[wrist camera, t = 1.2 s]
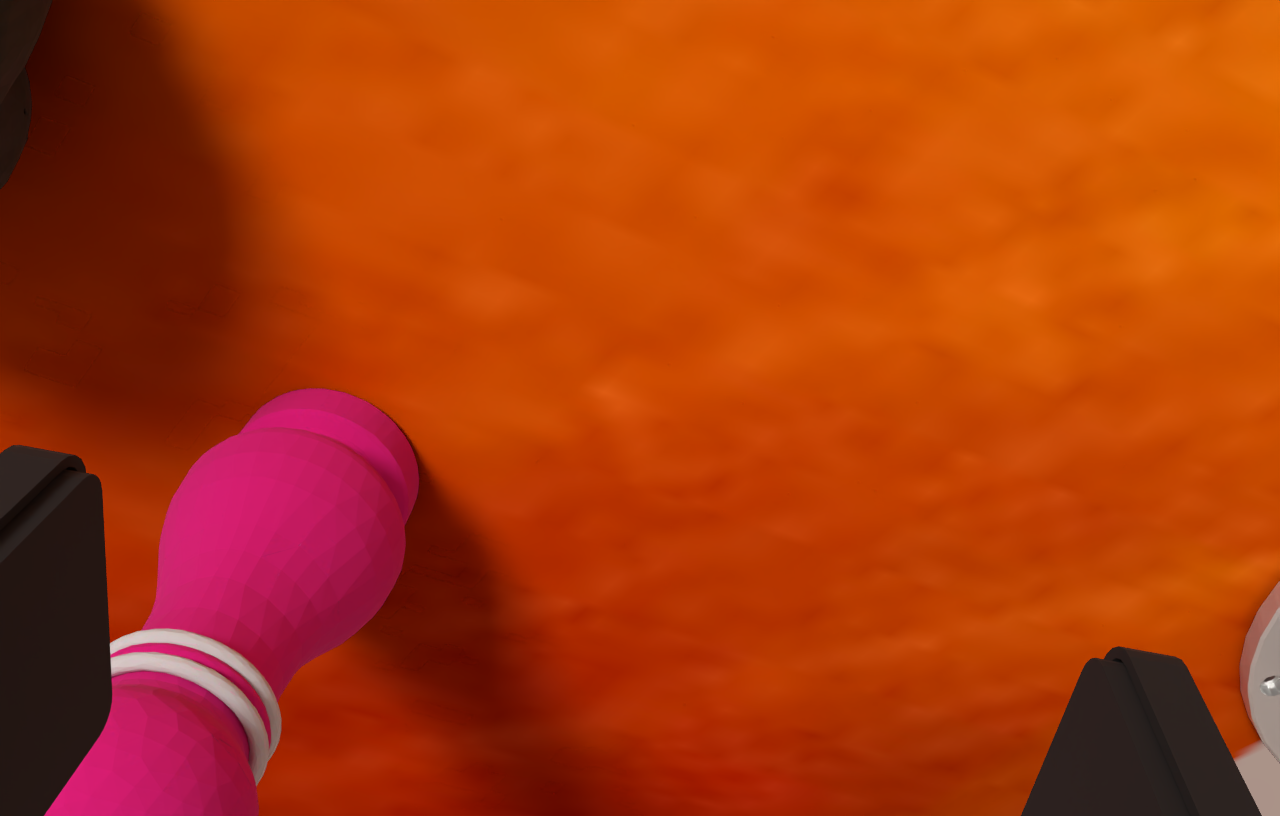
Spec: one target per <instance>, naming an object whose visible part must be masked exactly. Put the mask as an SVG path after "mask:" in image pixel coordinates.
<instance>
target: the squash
mask: <svg viewBox="0 0 1280 816" xmlns="http://www.w3.org/2000/svg"><path fill="white" fill-rule="evenodd" d="M51 3H52V0H0V189H1V188H2V187H3V186H4V185H5V184H6V183H7V181H8V179H9V177H10V175H11V173H12V171H13V169H14V168H15V166H16V164H17V162H18V160H19V158H20V155H21V153H22V151H23V148H24V146H25V143H26V141H27V139H28V130H29V125H30V121H31V111H32V98H31V90H30V83H29V79H28V76H27V72H26V69H25V65H26V63H27V61H28V59H29V57H30V55H31V53H32V51H33V49H34V46H35V44H36V42H37V40H38V38H39V36H40V33H41V30H42V28H43V25H44V22H45V19H46V16H47V14H48V11H49V8H50V6H51Z"/></svg>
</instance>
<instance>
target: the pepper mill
mask: <svg viewBox="0 0 1280 816" xmlns="http://www.w3.org/2000/svg"><path fill="white" fill-rule="evenodd" d="M418 489H419V474H418V466H417V462H416V459H415V455H414V453H413V450H412V448H411V446H410V444H409V442H408V441H407V439H406V437H405V436H404V434H403V433H402V432H401V431H400V429H399V428H398V427H397V425H396V424H395V423H394V422H393V421H392V420H391V419H390V418H389V417H388V416H386V415H385V414H384V413H383V412H381V411H380V410H379V409H377V408H376V407H374V406H373V405H371V404H370V403H369V402H367V401H364V400H362V399H360V398H357V397H355V396H352V395H350V394H347V393H344V392H339V391H334V390H328V389H303V390H297V391H292V392H288V393H286V394H283V395H280V396H278V397H276V398H274V399H273V400H271V401H270V402H268V403H267V404H265V405H264V406H262V407H261V408H260V409H259V410H258V411H257V412H256V413H255V414H254V415H253V416H252V417H251V419H250V420H249V421H248V423H247V424H246V425H245V426H244V428H243V429H242V430H241V432H240V433H239V434H238V435H235V436H232V437H229V438H228V439H226V440H224V441H223V442H221V443H219V444H218V445H216V446H214V447H213V448H211V449H210V450H208V451H207V452H206V453H205V454H203V455H202V456H201V457H200V458H199V459H198V461H197V462H196V463H195V464H194V465H193V466H192V467H191V469H190V470H189V472H188V474H187V475H186V477H185V479H184V480H183V482H182V483H181V485H180V487H179V488H178V490H177V491H176V493H175V495H174V496H173V498H172V501H171V503H170V506H169V508H168V511H167V515H166V518H165V522H164V526H163V529H162V533H161V539H160V545H159V561H158V584H157V594H156V600H155V604H154V607H153V610H152V613H151V615H150V616H149V618H148V620H147V622H146V623H145V625H144V627H143V629H142V630H141V631H137V632H134V633H131V634H128V635H125V636H122V637H121V638H119V639H117V640H115V641H113V642H112V643H110V656H111V675H112V704H111V710H110V713H109V717H108V720H107V722H106V725H105V727H104V729H103V731H102V733H101V735H100V736H99V738H98V739H97V741H96V742H95V744H94V745H93V746H92V748H91V749H90V751H89V752H88V754H87V755H86V756H85V758H84V759H83V761H82V762H81V764H80V765H79V766H78V768H77V769H76V771H75V772H74V774H73V775H72V777H71V778H70V779H69V781H68V782H67V784H66V785H65V787H64V788H63V789H62V791H61V792H60V794H59V795H58V797H57V798H56V799H55V801H54V802H53V804H52V805H51V807H50V808H49V809H48V811H47V812H46V814H45V815H44V816H258V811H259V806H258V798H257V790H256V786H257V784H258V782H259V781H260V779H261V778H262V776H263V774H264V771H265V769H266V766H267V761H268V760H269V759H270V758H271V756H272V755H273V753H274V752H275V749H276V747H277V745H278V742H279V739H280V734H281V715H280V710H279V706H278V701H279V698H280V696H281V694H282V693H283V691H284V689H285V688H286V686H287V685H288V683H289V682H290V680H291V678H292V677H293V675H294V674H295V673H296V672H297V671H298V670H299V669H300V668H301V667H302V666H303V665H305V664H306V663H308V662H309V661H311V660H312V659H314V658H316V657H318V656H320V655H321V654H323V653H325V652H327V651H329V650H331V649H333V648H335V647H337V646H339V645H341V644H342V643H343V642H345V641H346V640H347V639H349V638H350V637H351V636H353V635H354V634H355V633H356V632H357V631H359V630H360V629H361V628H362V627H363V626H364V625H365V624H366V623H367V622H368V621H369V620H370V619H372V618H373V617H374V615H375V614H376V613H377V611H378V610H379V609H380V608H381V606H382V605H383V603H384V602H385V600H386V598H387V597H388V595H389V593H390V592H391V590H392V589H393V587H394V585H395V583H396V581H397V578H398V576H399V574H400V572H401V569H402V565H403V560H404V553H405V546H406V539H405V529H404V527H405V524H406V522H407V520H408V518H409V516H410V514H411V512H412V509H413V507H414V504H415V501H416V499H417V495H418Z"/></svg>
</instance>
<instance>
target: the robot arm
mask: <svg viewBox="0 0 1280 816" xmlns="http://www.w3.org/2000/svg"><path fill="white" fill-rule="evenodd" d="M1240 689H1241V694H1242V698H1243V701H1244V704H1245V707H1246V711H1247V714H1248V717H1249V718H1250V720H1251V722H1252V724H1253V725H1254V727H1255V729H1256V731H1257V733H1258V735H1259V736H1260V738H1261V740H1262V742H1263V744H1264V745H1265V746H1266V747H1267V748H1268V750H1269V751H1270V752H1271V753H1272V755H1273V756H1274V757H1275V758H1276V759H1277V761H1278V762H1279V763H1280V581H1279V582H1278V584H1277V585H1276V586H1275V588H1274V589H1273V590H1272V592H1271V593H1270V594H1269V596H1268V597H1267V599H1266V600H1265V601H1264V603H1263V604H1262V605H1261V607H1260V608H1259V610H1258V612H1257V614H1256V616H1255V618H1254V620H1253V622H1252V625H1251V627H1250V629H1249V631H1248V633H1247V635H1246V638H1245V643H1244V647H1243V652H1242V656H1241V661H1240ZM111 704H112V675H111V656H110V636H109V616H108V597H107V577H106V557H105V538H104V518H103V498H102V487H101V482H100V480H99V478H98V477H97V476H96V475H94V474H89V473H86V469H85V466H84V464H83V461H82V459H80V458H79V457H77V456H76V455H71V454H66V453H60V452H55V451H49V450H44V449H38V448H33V447H27V446H22V445H13V446H11V447H9V448H7V449H6V450H4V451H3V452H2V453H1V454H0V816H44V815H45V814H46V812H47V811H48V809H49V808H50V807H51V805H52V804H53V802H54V801H55V799H56V798H57V797H58V795H59V794H60V792H61V791H62V789H63V788H64V787H65V785H66V784H67V782H68V781H69V779H70V778H71V777H72V775H73V774H74V772H75V771H76V769H77V768H78V766H79V765H80V764H81V762H82V761H83V759H84V758H85V756H86V755H87V754H88V752H89V751H90V749H91V748H92V746H93V745H94V744H95V742H96V741H97V739H98V738H99V736H100V735H101V733H102V731H103V729H104V727H105V725H106V722H107V720H108V717H109V713H110V710H111ZM1021 816H1262V815H1261V813H1260V811H1259V809H1258V807H1257V805H1256V803H1255V801H1254V799H1253V797H1252V796H1251V793H1250V792H1249V789H1248V788H1247V785H1246V784H1245V782H1244V780H1243V778H1242V776H1241V774H1240V772H1239V770H1238V768H1237V766H1236V764H1235V762H1234V760H1233V758H1232V756H1231V754H1230V752H1229V750H1228V748H1227V746H1226V744H1225V742H1224V740H1223V738H1222V736H1221V734H1220V732H1219V730H1218V728H1217V726H1216V724H1215V722H1214V720H1213V718H1212V716H1211V714H1210V712H1209V710H1208V708H1207V706H1206V704H1205V702H1204V700H1203V698H1202V696H1201V694H1200V692H1199V690H1198V688H1197V686H1196V684H1195V682H1194V680H1193V678H1192V676H1191V674H1190V672H1189V670H1188V668H1187V667H1186V665H1185V664H1184V663H1183V661H1182V660H1181V659H1179V658H1177V657H1174V656H1168V655H1163V654H1157V653H1152V652H1146V651H1141V650H1136V649H1130V648H1125V647H1115V648H1112V649H1111V650H1110V651H1109V652H1108V653H1107V654H1106V656H1105V658H1104V659H1098V658H1092V659H1090V660H1089V661H1088V662H1087V663H1086V664H1085V666H1084V668H1083V670H1082V672H1081V674H1080V677H1079V679H1078V682H1077V684H1076V686H1075V689H1074V691H1073V693H1072V696H1071V698H1070V701H1069V703H1068V705H1067V708H1066V710H1065V713H1064V715H1063V717H1062V720H1061V722H1060V724H1059V727H1058V729H1057V732H1056V734H1055V736H1054V739H1053V741H1052V743H1051V746H1050V748H1049V751H1048V753H1047V755H1046V758H1045V760H1044V762H1043V765H1042V767H1041V770H1040V772H1039V774H1038V777H1037V779H1036V781H1035V784H1034V786H1033V789H1032V791H1031V793H1030V796H1029V798H1028V800H1027V803H1026V805H1025V808H1024V810H1023V812H1022V815H1021Z"/></svg>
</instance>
